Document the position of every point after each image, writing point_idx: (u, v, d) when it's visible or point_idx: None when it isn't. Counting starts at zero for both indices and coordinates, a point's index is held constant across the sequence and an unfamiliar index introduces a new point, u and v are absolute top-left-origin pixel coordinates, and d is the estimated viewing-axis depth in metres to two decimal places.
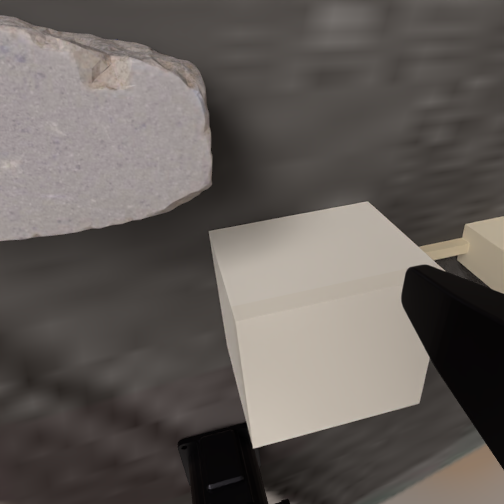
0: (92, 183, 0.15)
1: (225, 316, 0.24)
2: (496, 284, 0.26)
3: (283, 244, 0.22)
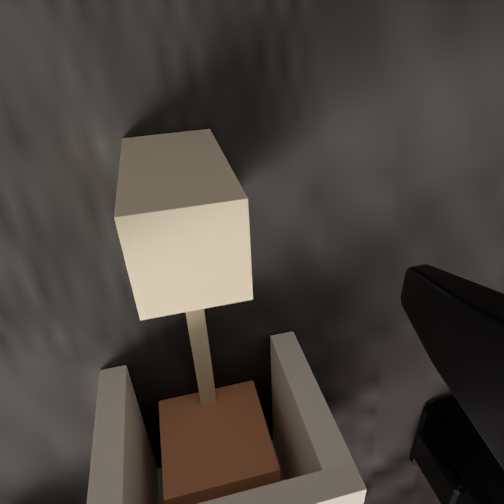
0: None
1: None
2: None
3: None
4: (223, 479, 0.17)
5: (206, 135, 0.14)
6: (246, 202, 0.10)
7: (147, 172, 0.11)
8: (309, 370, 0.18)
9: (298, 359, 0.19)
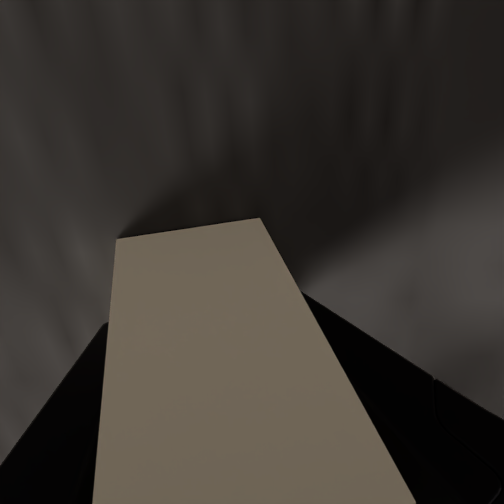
0: None
1: None
2: None
3: None
4: None
5: (258, 236, 0.08)
6: None
7: (162, 356, 0.06)
8: None
9: None
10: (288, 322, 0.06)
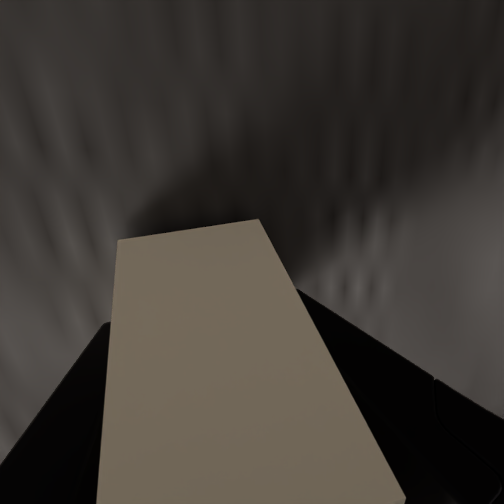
0: None
1: None
2: None
3: None
4: None
5: (257, 237, 0.08)
6: (400, 501, 0.04)
7: (163, 357, 0.06)
8: None
9: None
10: (285, 323, 0.06)
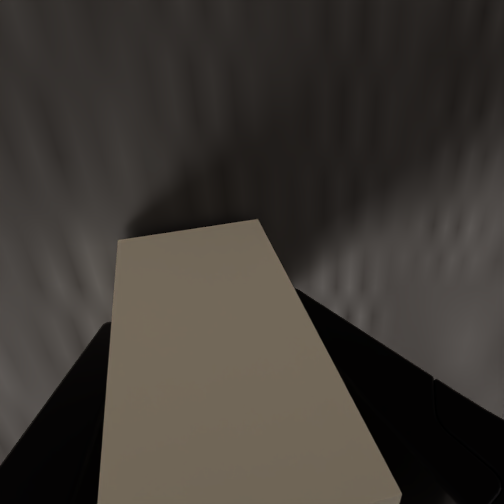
0: None
1: None
2: None
3: None
4: None
5: (256, 237, 0.08)
6: (396, 497, 0.04)
7: (163, 356, 0.06)
8: None
9: None
10: (284, 322, 0.06)
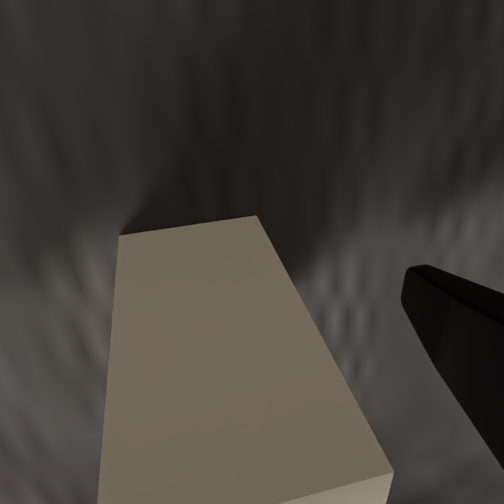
0: None
1: None
2: None
3: None
4: None
5: (255, 233, 0.09)
6: (388, 476, 0.04)
7: (163, 344, 0.06)
8: None
9: None
10: (281, 313, 0.06)
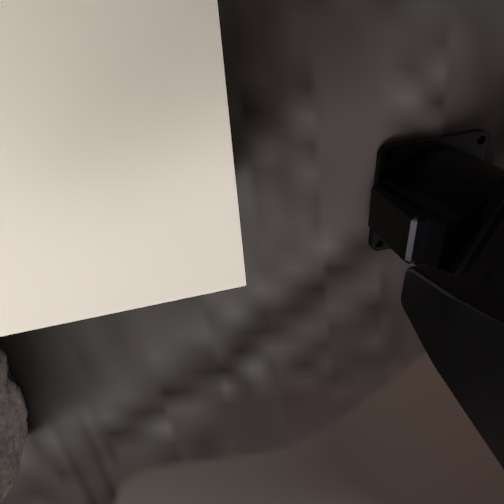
0: None
1: None
2: None
3: None
4: None
5: None
6: None
7: None
8: None
9: None
10: None
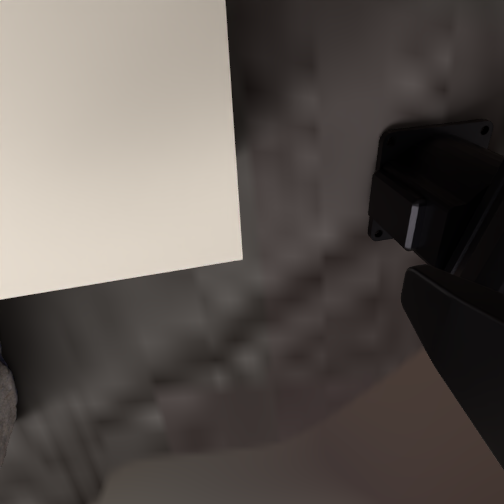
0: None
1: None
2: None
3: None
4: None
5: None
6: None
7: None
8: None
9: None
10: None
